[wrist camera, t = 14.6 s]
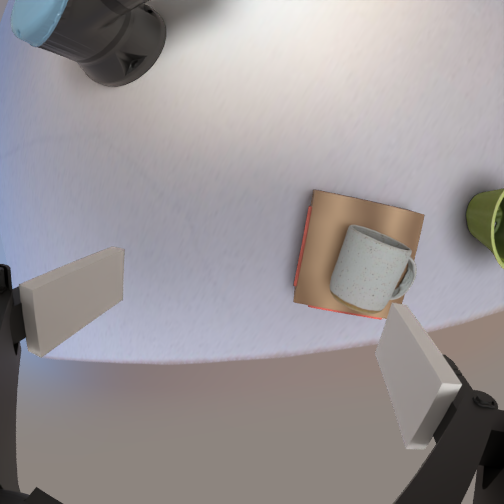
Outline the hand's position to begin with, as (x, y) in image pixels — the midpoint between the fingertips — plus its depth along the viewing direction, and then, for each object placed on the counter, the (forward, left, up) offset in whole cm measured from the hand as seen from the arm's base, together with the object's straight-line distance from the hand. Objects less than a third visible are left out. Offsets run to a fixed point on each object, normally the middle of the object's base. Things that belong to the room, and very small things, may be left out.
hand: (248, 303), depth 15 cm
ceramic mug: (+12, -2, -25) cm, 28 cm away
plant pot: (+30, +7, -31) cm, 44 cm away
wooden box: (+10, -2, -31) cm, 32 cm away
